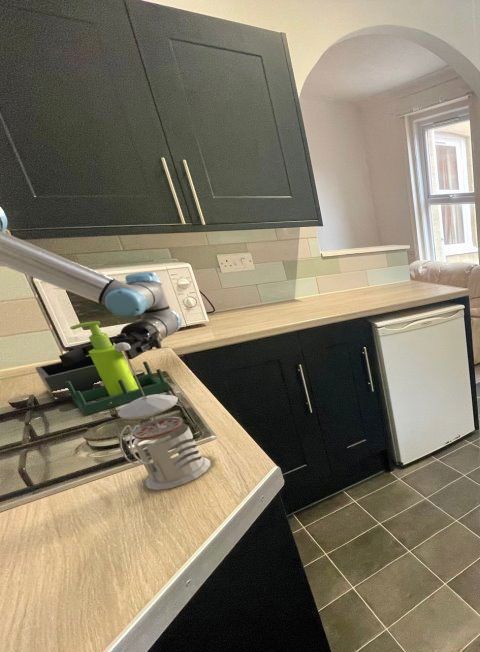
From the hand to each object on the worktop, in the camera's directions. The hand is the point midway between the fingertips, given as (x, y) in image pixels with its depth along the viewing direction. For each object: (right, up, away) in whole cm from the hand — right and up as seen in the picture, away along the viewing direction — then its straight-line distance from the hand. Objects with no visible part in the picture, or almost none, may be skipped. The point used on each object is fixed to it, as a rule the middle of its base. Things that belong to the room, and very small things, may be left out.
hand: (96, 357), depth 102 cm
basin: (-16, -7, +15) cm, 24 cm away
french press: (+41, -23, -27) cm, 54 cm away
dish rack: (0, -10, +8) cm, 12 cm away
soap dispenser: (0, -10, +8) cm, 12 cm away
